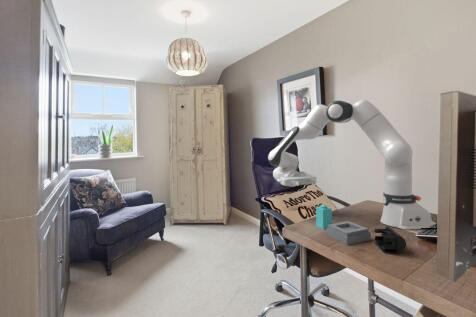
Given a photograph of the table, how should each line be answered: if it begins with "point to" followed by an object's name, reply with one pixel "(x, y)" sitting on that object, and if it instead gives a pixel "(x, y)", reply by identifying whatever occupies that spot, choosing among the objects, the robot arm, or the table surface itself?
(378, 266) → the table surface
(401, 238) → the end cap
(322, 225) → the teal brick
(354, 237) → the base plate
